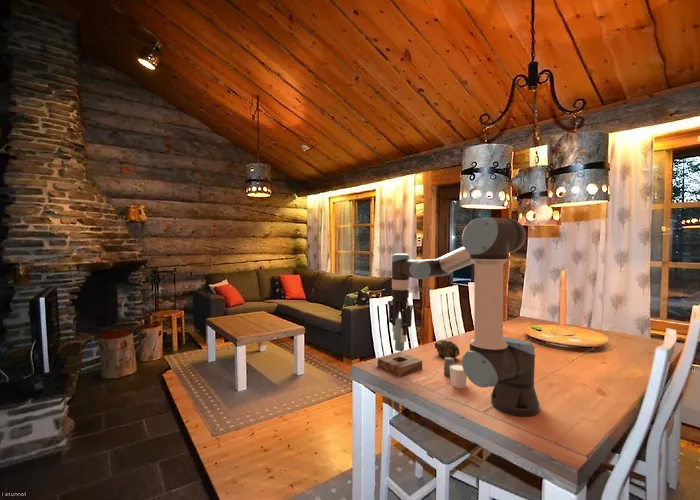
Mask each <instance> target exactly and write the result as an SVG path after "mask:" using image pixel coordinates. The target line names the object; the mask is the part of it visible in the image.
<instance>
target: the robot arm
mask: <svg viewBox="0 0 700 500" xmlns="http://www.w3.org/2000/svg"><path fill="white" fill-rule="evenodd" d="M526 233H527V232H526V230H525V227H524V226H523V225H522V223H520V222H519V221H518V220H516V219H514V218H509V217H508V218H507V217H503V218H502V217H492V216H489V217H488V216H484V217H478V218H477V217H476V218H474V219H472V220H471V221H469V222H468V224H467V225H466V226H465V228H464V229H463V232H462V234H461V244H462V247H459V248H457V249H455V250H453V251H451V252H449V253H446V254H444V255H442V256H440V257H438V258H433V259H410V254H408V253H394V254H393V255H392V258H391V260H392V261H391V288H392V289H391V297H392V299H391V300H388V301H387V304H388V323H390V324H391V325H392V329H391V330H392V333H393V334H392V335H393V336H392V337H393V338H392V340H393V341H395V318H398V317H399V316H400V318H401V320H402V327H401V343H403V342H404V343H406V342H407V336H408V328H410V327H412V321H413V320H412V318H413V315H412V314H413V308H414V305H413V304H410V303H409V298H410V290H409V288H410V287H409V286H410V278H412V279H416V280H425V279H427V278H433V277H447V276H450V275H451V274H452V272H454V271H457V270H460V269H462V268H465V267H467V266H470V265H472V264H473V265H474V269H473V270H474V273H473V274H474V276H473V277H474V280H473V281H474V293H473V294H474V298H473V301H474V306H473V307H474V315H473V316H474V319H473V321H474V322H473V323H474V324H473V325H474V327H473V329H474V337H472V338H471V339H470V340H469V350H467V351H466V352H465V353H464V354H463V356H462V359H461V365H462V366H463V370H464V372H465V374H466V376H467V378H468V380H469V381H470V382H471V383H472V384H474V385H475V386H477V387H480V388H492V387H493V389H492V392H491V394H490V403H491V405H492V406H493V407H494V408H496V409H497V410H498V411H500V412H502V413H505V414H508V415H511V416H517V417H533V416H536V415H537V414H539V412H540V402H539V398H538V396H537V392H536V390H535V367H536V366H535V362H536V361H535V360H536V352H535V345H534V344H532V342H530V341H527V340H524V339H520V338H514V337H509V336H504V320H503V319H504V264H505V263H506V262H507V261H509V254H511V253H514V252H517V251H518V250H519V249H521V248H522V247H523V246H524V243H525V242H526V238H527V234H526Z"/></svg>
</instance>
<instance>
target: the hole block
mask: <svg viewBox="0 0 700 500" xmlns="http://www.w3.org/2000/svg"><path fill="white" fill-rule="evenodd" d="M377 367H379V368H381V369H383V370H385V371H388V372H390V373H393V374H394V375H397V376H399V377H401V376H404V375H407V374H410V373H412V372H415V371H418V370H422V369H423V359H419V358H417V357H414V356H412V355H409V354H406V353H404V352H402V351H397V352H395V353H391V354H389V355H385V356H380V357H378V358H377Z"/></svg>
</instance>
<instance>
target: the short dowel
mask: <svg viewBox="0 0 700 500" xmlns="http://www.w3.org/2000/svg"><path fill="white" fill-rule="evenodd" d="M443 358H444V360H443V361H444V363H443V365H444V366H443V367H444V368H443V370H444V371H443V373H444V374H443V376H444V377H447V378H450V366H451V365H455V358H451V357H443Z"/></svg>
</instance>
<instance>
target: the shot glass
mask: <svg viewBox="0 0 700 500" xmlns="http://www.w3.org/2000/svg"><path fill="white" fill-rule="evenodd" d="M449 378H450V385H451V386H452V387H454V388H457V389H462V388H466V385H467V380H468V379H467V378H468V376H466V374H465V372H464V370H463V366H462V364H454V365H451V366H450V377H449Z"/></svg>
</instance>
